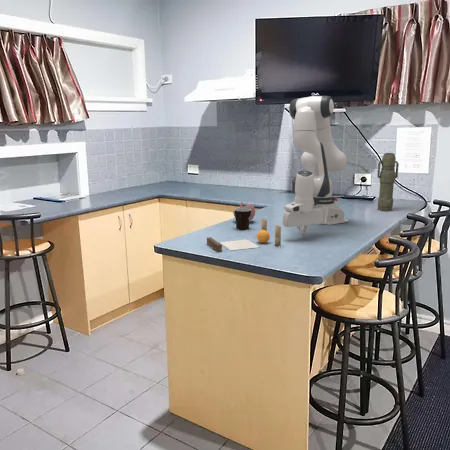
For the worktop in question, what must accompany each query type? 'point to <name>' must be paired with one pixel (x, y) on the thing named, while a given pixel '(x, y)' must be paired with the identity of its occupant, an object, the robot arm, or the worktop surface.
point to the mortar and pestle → (248, 208)
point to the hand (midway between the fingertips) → (302, 234)
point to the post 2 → (277, 235)
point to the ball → (263, 236)
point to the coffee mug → (242, 218)
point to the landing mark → (239, 245)
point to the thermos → (387, 181)
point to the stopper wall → (214, 244)
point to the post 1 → (264, 224)
